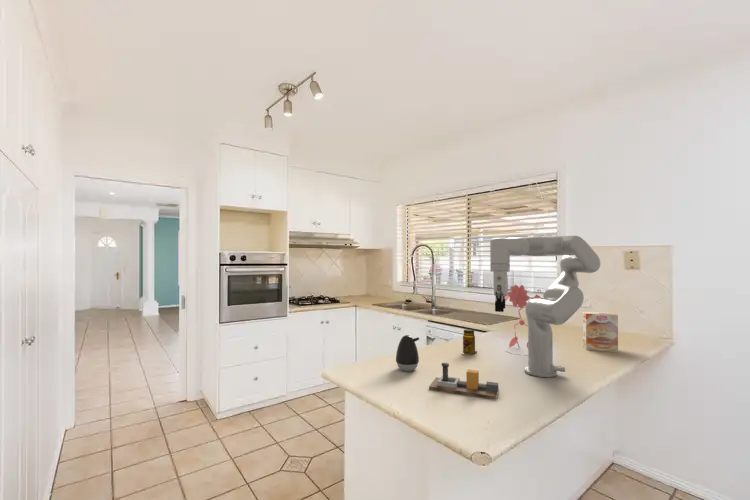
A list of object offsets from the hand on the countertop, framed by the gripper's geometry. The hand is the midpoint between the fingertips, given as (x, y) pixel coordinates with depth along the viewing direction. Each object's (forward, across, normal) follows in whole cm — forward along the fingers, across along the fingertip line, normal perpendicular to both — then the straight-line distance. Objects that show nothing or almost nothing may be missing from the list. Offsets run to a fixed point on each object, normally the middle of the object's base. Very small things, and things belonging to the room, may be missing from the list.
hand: (500, 309), depth 147 cm
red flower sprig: (+28, +49, -5) cm, 57 cm away
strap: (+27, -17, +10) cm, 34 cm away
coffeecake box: (+29, +69, -45) cm, 87 cm away
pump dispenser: (+28, -3, +39) cm, 48 cm away
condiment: (+29, +35, +18) cm, 49 cm away
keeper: (+28, -17, +12) cm, 35 cm away
